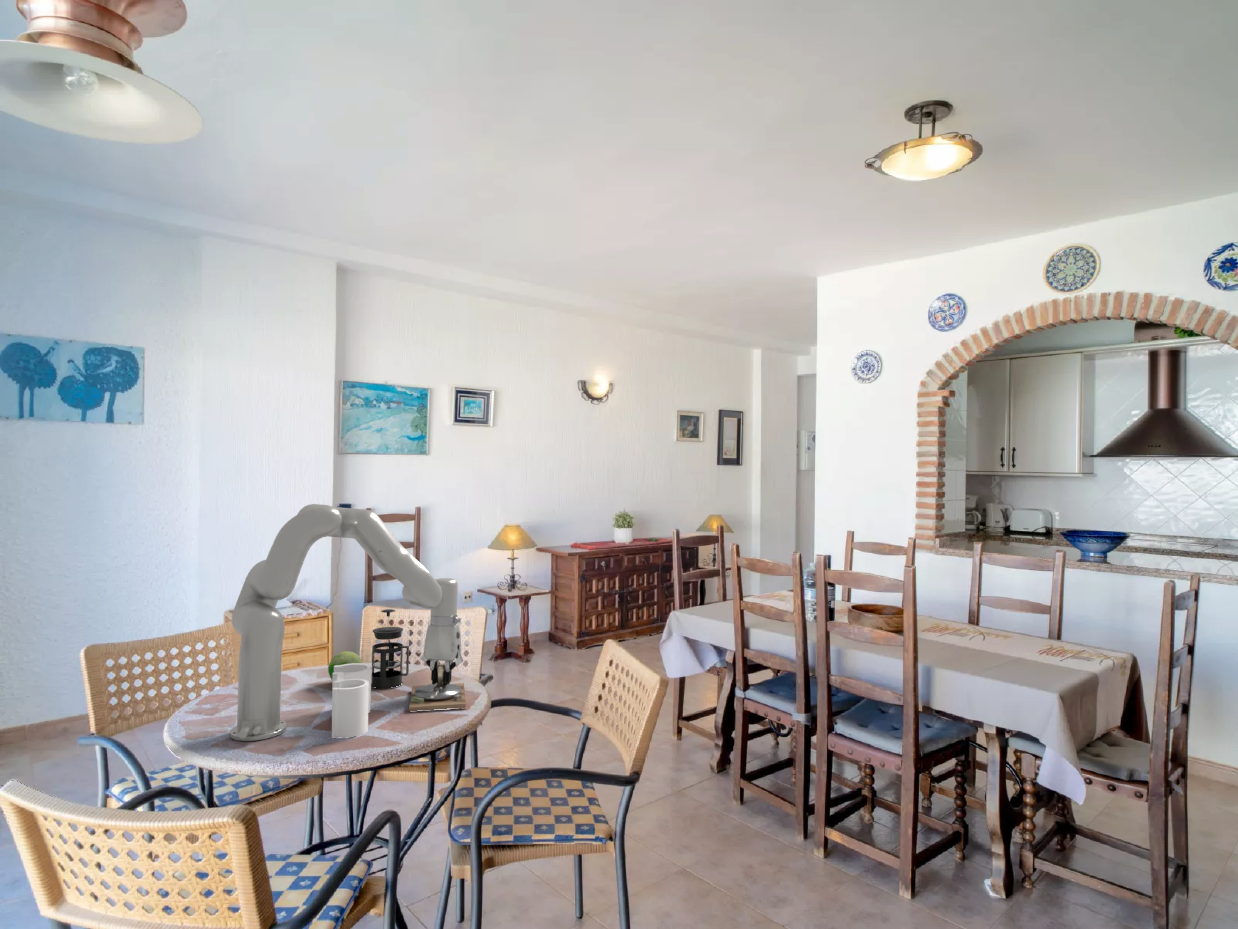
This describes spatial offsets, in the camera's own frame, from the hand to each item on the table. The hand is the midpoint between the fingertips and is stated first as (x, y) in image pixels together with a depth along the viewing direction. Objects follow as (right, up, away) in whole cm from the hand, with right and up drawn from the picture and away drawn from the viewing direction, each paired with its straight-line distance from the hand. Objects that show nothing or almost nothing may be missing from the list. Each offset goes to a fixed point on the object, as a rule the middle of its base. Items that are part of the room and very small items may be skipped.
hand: (441, 683), depth 207 cm
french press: (-19, -4, +10) cm, 21 cm away
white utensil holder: (-18, -3, -23) cm, 29 cm away
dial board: (0, -3, -4) cm, 6 cm away
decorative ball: (-32, -3, +9) cm, 34 cm away
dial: (0, -2, -4) cm, 5 cm away
